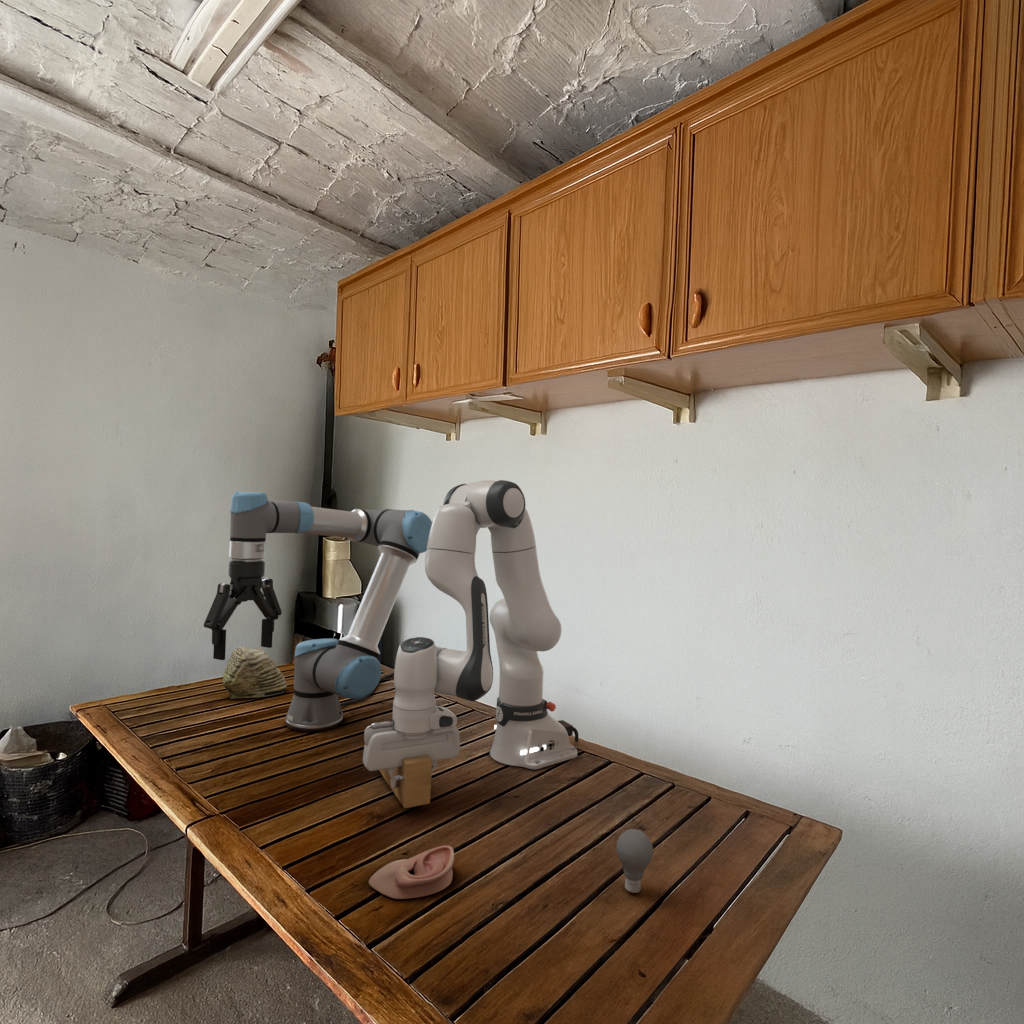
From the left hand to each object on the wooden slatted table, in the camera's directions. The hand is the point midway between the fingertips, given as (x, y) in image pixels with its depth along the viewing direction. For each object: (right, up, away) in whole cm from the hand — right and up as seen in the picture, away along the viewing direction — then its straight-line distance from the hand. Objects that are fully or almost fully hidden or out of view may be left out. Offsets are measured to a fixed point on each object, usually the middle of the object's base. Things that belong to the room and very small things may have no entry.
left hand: (243, 652), depth 144 cm
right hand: (+40, -25, -12) cm, 49 cm away
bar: (+37, -27, -6) cm, 46 cm away
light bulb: (+81, -31, -38) cm, 95 cm away
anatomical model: (+44, -30, -38) cm, 65 cm away
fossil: (-20, -25, +54) cm, 63 cm away
